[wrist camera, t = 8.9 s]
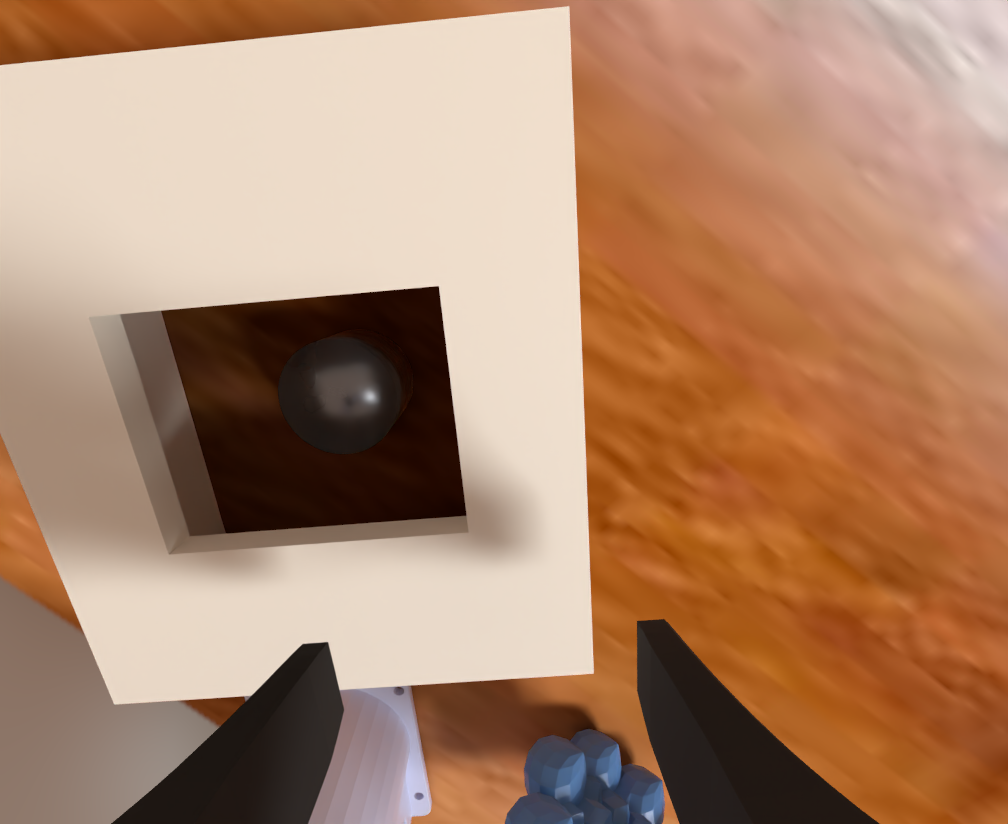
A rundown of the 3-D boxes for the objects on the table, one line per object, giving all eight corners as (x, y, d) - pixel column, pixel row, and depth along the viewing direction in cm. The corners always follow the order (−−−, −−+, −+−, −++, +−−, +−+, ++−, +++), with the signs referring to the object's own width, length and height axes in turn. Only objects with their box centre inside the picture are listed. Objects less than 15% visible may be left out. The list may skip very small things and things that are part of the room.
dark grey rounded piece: (419, 423, 19) (404, 450, 16) (323, 430, 19) (291, 457, 16) (406, 325, 18) (388, 335, 15) (304, 332, 18) (266, 344, 15)
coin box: (569, 562, 21) (593, 673, 15) (219, 588, 21) (114, 704, 16) (545, 103, 16) (569, 6, 10) (84, 148, 16) (-148, 80, 10)
